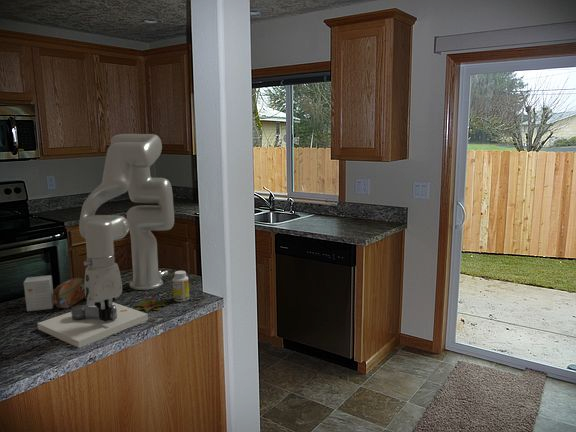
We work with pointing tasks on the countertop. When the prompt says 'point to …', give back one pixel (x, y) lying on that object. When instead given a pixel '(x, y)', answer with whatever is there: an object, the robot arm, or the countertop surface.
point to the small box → (39, 293)
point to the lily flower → (150, 302)
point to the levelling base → (90, 326)
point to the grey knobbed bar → (90, 312)
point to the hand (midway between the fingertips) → (105, 319)
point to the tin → (69, 292)
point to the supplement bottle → (180, 286)
